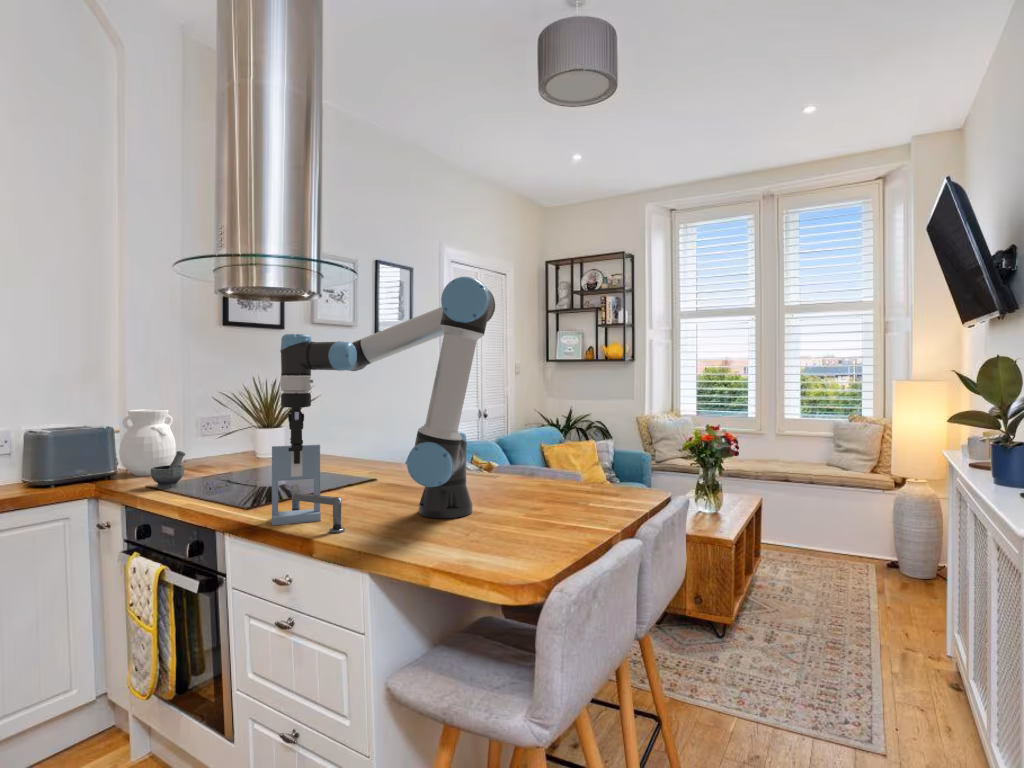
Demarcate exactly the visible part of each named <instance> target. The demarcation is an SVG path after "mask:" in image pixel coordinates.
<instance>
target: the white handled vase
mask: <svg viewBox="0 0 1024 768" xmlns="http://www.w3.org/2000/svg"><path fill="white" fill-rule="evenodd" d="M169 411H170V410H169V409H167V408H166V409H165V408H163V409H162V408H144V409H143V408H141V409H130V410H127V416H125V417H124V418H123V420H122V423H121V424H122V425H123V427H124V429H126V432H125V433H124V434H123V436H122V439H121V440H120V442H119V443H120V445H119V450H118V455H119V459H120V462H121V464H122V465H123V467H124V468H125V469H126V470H127V471H128V472H130V473H132V474H133V475H134V476H136V477H152V476H151V468H153V467H159V466H168V465H171V463H172V461H173V460H174V458H175V456H176V452H177V451H176V450H177V443H176V439H175V435H174V434H173V431H172V429H171V426H172V424H174V423H173V422H174V419H173V416H172V415H171V414H169ZM166 419H168V420H167V422H166V423H165V421H166ZM128 420H130V422H131V423H132V425H131V426H130V425H129V424H128Z"/></svg>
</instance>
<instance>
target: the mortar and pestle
mask: <svg viewBox="0 0 1024 768" xmlns="http://www.w3.org/2000/svg"><path fill="white" fill-rule="evenodd" d="M185 456H186V453H185V452H184V451H181V450H177V451H176V453H175V456H174V459H173V461H172V462H171V464H170V465H168V466H159V467H153V468H151V476H150V477H151V478H152V479H153V481H154V482H155V483H156V484H157V485H156V489H158V490H169V489H170V490H171V489H176V487H177V488H178V487H179V481H180V480H181V479H182V478H183V476H184V473H185V466H184V465H181V464H182V461H183V460H184V459H183V458H184V457H185Z"/></svg>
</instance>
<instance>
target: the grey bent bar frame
mask: <svg viewBox="0 0 1024 768" xmlns="http://www.w3.org/2000/svg"><path fill="white" fill-rule="evenodd" d="M300 487H301V485H300V484H292V485H291V511H294V510H301V509H300V508H301V507H300V505H301V503H300V502H304V503H313V504H314V503H320V505H329V506H330V505H331V506H332V527H331V528H329V533H330V534H341V533H344V532H345V530H346V529H345V527H342V497H340V496H328V495H321V494H320V495H314V494H312V493H304V492H303V493H302V492H301V491H300Z"/></svg>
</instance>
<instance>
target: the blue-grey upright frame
mask: <svg viewBox="0 0 1024 768" xmlns="http://www.w3.org/2000/svg"><path fill="white" fill-rule="evenodd" d="M302 446H303V449H302V476H295V477H291V451H289V448H291V446H290V445H278V446H277V445H274V446H271V525H272V526H279V525H289V524H301V523H310V522H311V523H313V522H321V519H322V518H321V516H322V515H321V504H320V503H313V508H308V509H300V510H294V511H292V510H285V511H279V482H283V481H284V482H285V481H298V480H299V481H300V480H313V495H321V444H302Z"/></svg>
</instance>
